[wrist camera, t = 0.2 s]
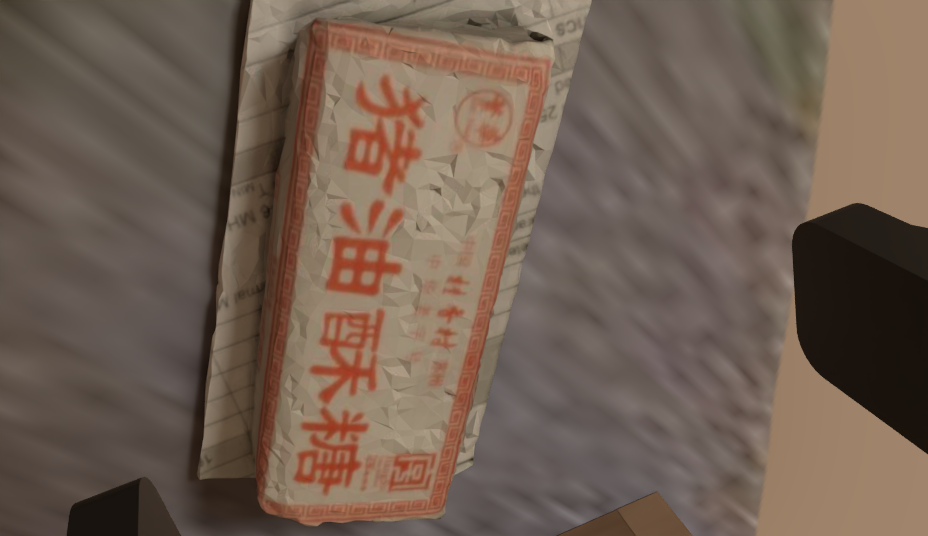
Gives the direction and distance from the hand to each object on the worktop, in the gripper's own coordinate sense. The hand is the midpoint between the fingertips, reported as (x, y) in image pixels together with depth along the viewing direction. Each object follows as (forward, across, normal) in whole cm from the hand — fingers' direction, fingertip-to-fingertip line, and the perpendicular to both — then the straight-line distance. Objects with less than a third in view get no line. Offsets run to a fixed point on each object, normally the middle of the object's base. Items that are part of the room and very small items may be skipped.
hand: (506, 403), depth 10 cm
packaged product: (+18, -1, +5) cm, 19 cm away
